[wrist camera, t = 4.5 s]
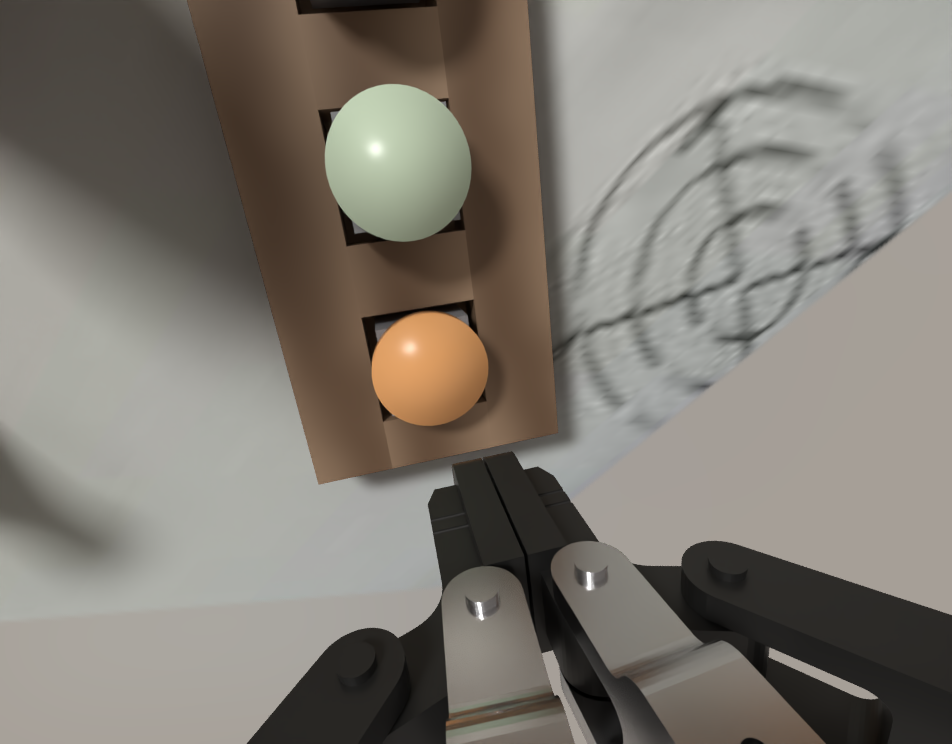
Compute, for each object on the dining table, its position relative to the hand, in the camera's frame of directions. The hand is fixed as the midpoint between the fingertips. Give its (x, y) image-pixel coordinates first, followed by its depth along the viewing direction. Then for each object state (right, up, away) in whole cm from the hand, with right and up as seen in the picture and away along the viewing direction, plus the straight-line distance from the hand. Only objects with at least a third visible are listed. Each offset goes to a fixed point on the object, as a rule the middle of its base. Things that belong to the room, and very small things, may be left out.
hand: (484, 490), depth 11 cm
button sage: (-4, +11, +8) cm, 14 cm away
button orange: (-3, +4, +12) cm, 13 cm away
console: (-4, +12, +10) cm, 16 cm away
